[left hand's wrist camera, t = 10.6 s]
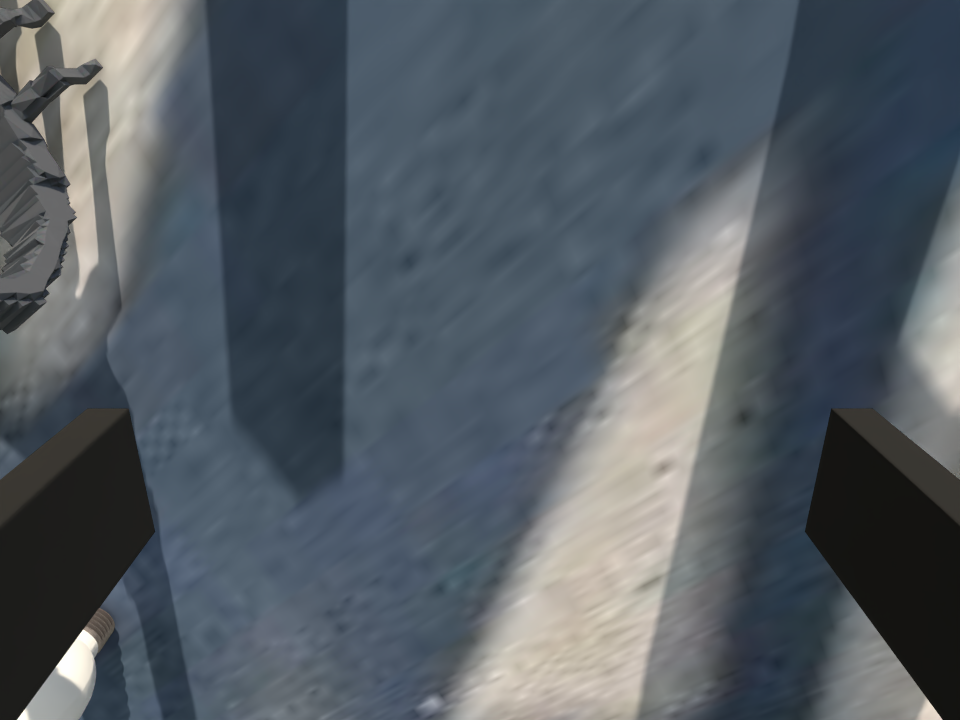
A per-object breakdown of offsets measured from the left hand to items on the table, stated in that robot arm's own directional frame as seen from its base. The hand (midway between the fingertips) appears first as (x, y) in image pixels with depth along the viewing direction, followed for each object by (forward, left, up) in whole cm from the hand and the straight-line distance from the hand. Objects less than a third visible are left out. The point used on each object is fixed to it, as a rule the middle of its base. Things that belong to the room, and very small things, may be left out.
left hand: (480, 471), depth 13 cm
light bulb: (+45, +1, -31) cm, 55 cm away
